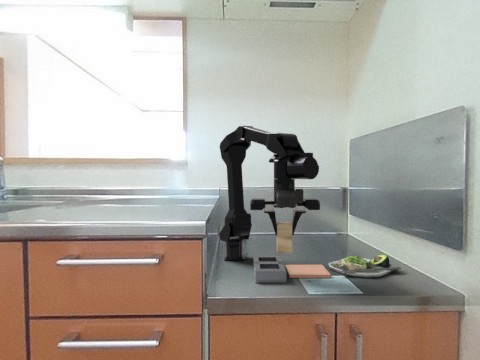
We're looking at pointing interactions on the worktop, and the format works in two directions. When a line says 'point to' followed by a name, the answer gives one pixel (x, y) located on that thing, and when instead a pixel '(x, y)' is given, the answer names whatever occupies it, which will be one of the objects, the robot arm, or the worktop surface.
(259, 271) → the grey slotted holder
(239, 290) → the worktop surface
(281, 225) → the maple peg
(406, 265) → the worktop surface
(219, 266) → the worktop surface
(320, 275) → the terracotta tile
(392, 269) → the salad plate
